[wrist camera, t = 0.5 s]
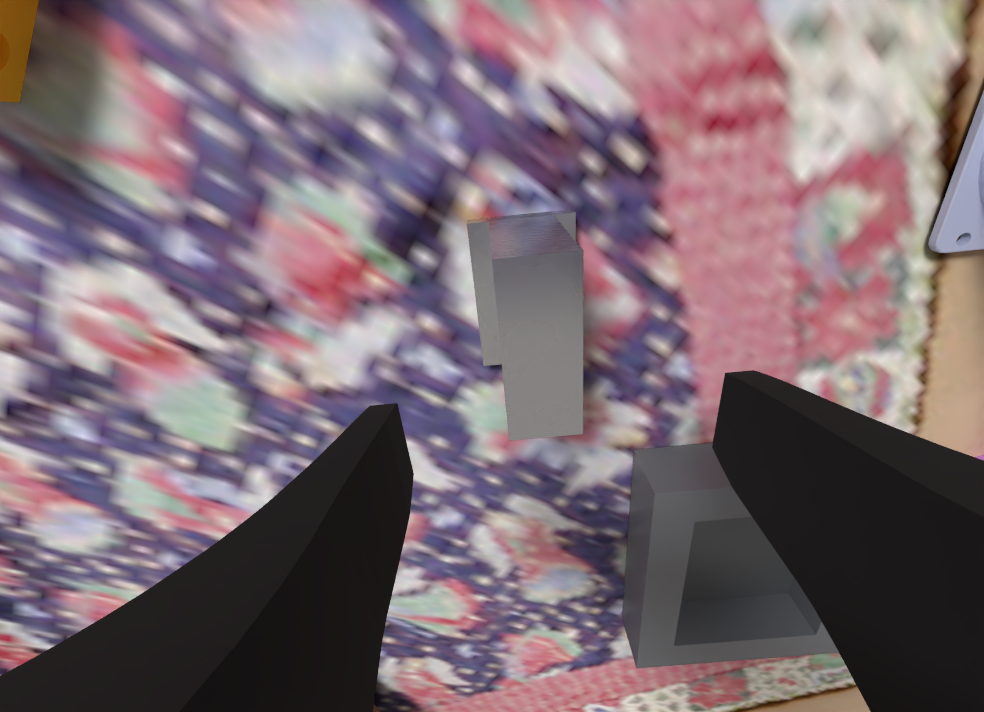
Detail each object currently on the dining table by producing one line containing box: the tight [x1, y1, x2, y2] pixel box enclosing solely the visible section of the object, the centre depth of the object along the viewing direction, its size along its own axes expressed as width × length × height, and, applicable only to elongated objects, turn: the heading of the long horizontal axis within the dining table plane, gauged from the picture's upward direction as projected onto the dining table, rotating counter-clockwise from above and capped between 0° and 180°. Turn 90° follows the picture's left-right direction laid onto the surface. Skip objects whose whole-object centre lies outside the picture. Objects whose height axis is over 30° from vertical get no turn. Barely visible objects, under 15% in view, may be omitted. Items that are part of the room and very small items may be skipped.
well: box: [622, 443, 839, 668], centre depth 24 cm, size 12×14×3 cm
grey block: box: [467, 209, 583, 441], centre depth 16 cm, size 4×6×6 cm, turn 6°
